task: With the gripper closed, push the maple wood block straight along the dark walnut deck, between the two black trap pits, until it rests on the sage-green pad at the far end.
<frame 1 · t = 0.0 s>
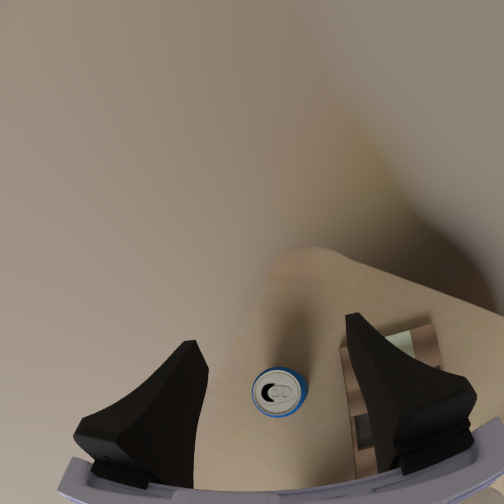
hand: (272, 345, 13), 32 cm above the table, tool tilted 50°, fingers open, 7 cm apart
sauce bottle: (463, 497, 21), on the table
beverage can: (287, 389, 40), on the table
deck: (399, 413, 34), on the table
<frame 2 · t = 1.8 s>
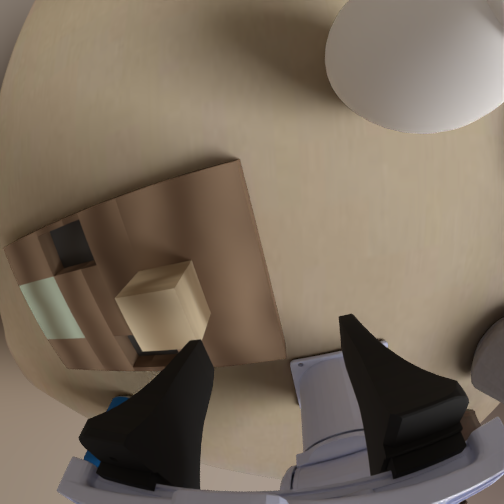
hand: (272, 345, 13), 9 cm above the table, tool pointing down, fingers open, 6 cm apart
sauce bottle: (364, 81, 16), on the table
deck: (123, 290, 23), on the table
coffee grinder: (448, 419, 30), on the table
block: (174, 292, 21), point 2 cm above the table, touching deck
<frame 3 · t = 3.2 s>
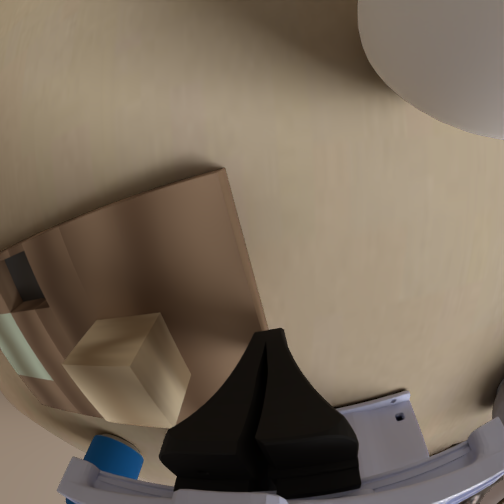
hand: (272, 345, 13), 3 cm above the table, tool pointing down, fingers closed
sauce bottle: (403, 59, 10), on the table
beverage can: (120, 443, 25), on the table
deck: (88, 333, 17), on the table
coffee grinder: (461, 448, 24), on the table
block: (142, 348, 15), point 2 cm above the table, touching deck
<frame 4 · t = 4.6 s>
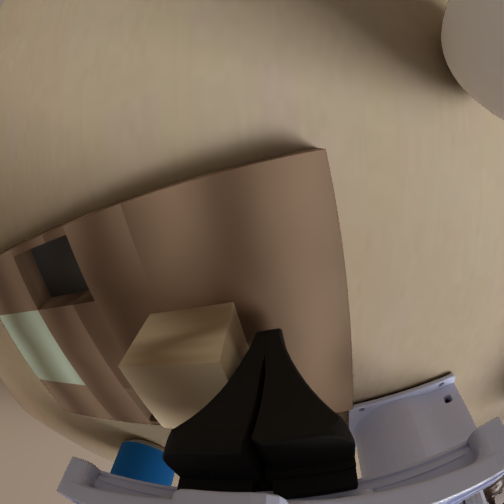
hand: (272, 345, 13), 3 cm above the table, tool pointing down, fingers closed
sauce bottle: (462, 64, 9), on the table
beverage can: (150, 448, 24), on the table
deck: (133, 330, 17), on the table
coffee grinder: (483, 437, 24), on the table
block: (203, 343, 14), point 2 cm above the table, touching deck, gripper
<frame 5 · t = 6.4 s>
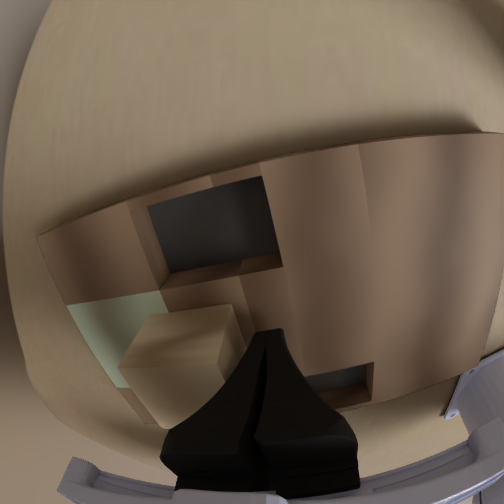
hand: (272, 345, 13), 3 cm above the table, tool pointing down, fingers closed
deck: (294, 307, 15), on the table
block: (202, 344, 14), point 2 cm above the table, touching gripper
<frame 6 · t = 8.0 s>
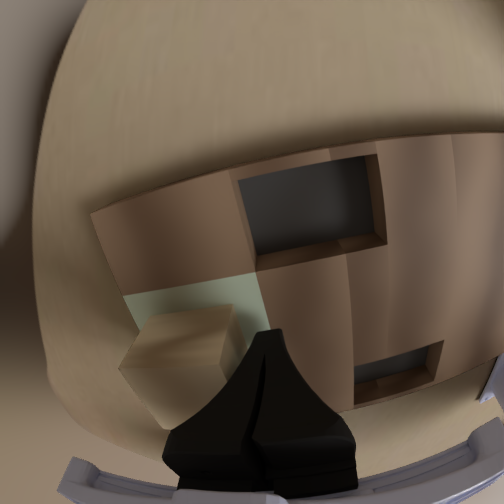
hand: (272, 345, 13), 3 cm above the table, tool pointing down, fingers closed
deck: (377, 289, 14), on the table
block: (203, 345, 14), point 2 cm above the table, touching deck, gripper
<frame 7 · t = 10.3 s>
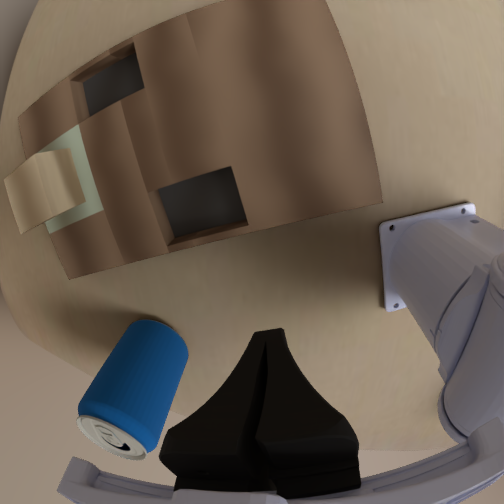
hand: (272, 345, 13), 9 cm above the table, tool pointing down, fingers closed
beverage can: (159, 340, 26), on the table
deck: (168, 134, 18), on the table
block: (59, 184, 18), point 2 cm above the table, touching deck
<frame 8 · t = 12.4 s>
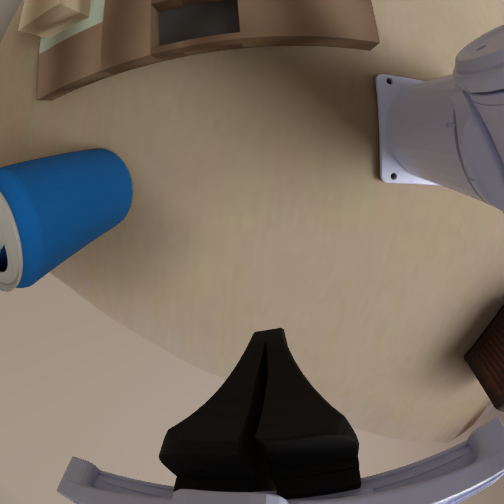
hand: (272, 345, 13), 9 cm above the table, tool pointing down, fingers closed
beverage can: (104, 187, 20), on the table
block: (70, 8, 12), point 2 cm above the table, touching deck
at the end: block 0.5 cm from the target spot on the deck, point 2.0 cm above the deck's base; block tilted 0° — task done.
